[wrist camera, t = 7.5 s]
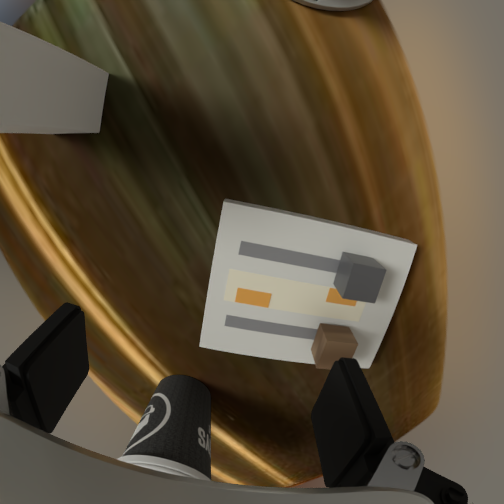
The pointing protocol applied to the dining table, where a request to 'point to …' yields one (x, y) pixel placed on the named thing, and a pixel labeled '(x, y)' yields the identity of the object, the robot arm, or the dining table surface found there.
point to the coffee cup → (175, 430)
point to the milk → (47, 87)
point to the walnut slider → (332, 345)
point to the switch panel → (294, 283)
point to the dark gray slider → (359, 277)
